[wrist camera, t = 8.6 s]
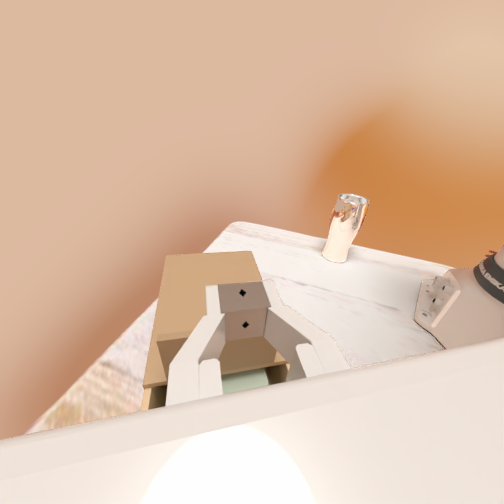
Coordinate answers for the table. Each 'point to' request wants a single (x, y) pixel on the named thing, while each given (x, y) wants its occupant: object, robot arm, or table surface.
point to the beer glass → (344, 225)
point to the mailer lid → (201, 313)
